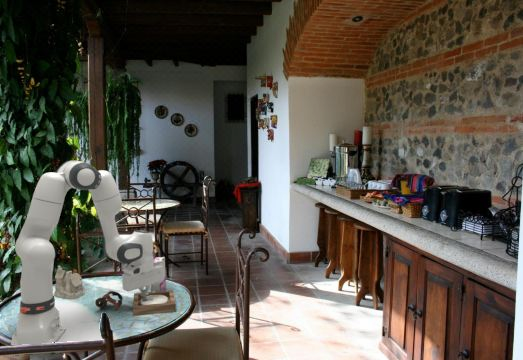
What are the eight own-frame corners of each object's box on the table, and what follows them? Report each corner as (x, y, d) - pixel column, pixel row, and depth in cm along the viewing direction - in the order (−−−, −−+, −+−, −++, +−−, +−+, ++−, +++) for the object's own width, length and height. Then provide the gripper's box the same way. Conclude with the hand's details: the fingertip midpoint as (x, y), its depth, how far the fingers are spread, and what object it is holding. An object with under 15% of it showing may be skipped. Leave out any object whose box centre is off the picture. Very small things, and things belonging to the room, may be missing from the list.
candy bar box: (156, 288, 228) (155, 256, 226) (166, 288, 228) (165, 256, 226) (150, 297, 217) (149, 263, 215) (160, 297, 217) (159, 263, 215)
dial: (165, 297, 213) (165, 283, 212) (169, 306, 202) (169, 291, 201) (139, 300, 209) (138, 286, 208) (142, 310, 198) (141, 294, 197)
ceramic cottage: (70, 300, 212) (69, 268, 211) (47, 296, 220) (46, 265, 219) (97, 292, 225) (96, 262, 225) (74, 288, 233) (74, 259, 233)
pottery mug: (110, 303, 211) (118, 288, 209) (120, 316, 205) (128, 302, 204) (87, 304, 201) (95, 289, 199) (97, 318, 196) (106, 303, 194)
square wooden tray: (175, 311, 199) (175, 303, 199) (133, 315, 195) (132, 307, 194) (173, 297, 216) (173, 289, 216) (134, 300, 212) (134, 292, 212)
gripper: (158, 259, 214) (159, 287, 216) (119, 269, 199) (121, 299, 200) (166, 261, 210) (167, 290, 212) (128, 272, 195) (129, 303, 196)
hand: (144, 295), depth 206 cm, fingers closed
